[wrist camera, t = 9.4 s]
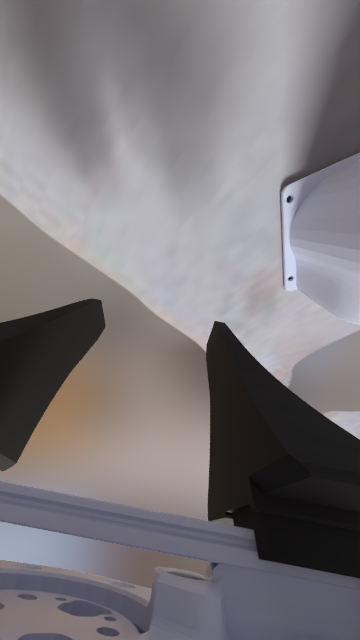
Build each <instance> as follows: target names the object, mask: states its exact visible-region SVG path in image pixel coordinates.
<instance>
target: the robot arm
mask: <svg viewBox="0 0 360 640" xmlns="http://www.w3.org/2000/svg"><path fill="white" fill-rule="evenodd" d="M288 196H291V201H290V202H289V203H287V201H286V200H287V197H288ZM281 210H282V240H283V270H284V289H285V290H286V291H288V292H289V291H294V290H298V291H300V292H301V293H303V294H304V295H306V296H307V297H308V298H310V299H311V300H313V301H314V302H316V303H317V304H318V305H320V306H321V307H323V308H324V309H326V310H327V311H328V312H330V313H331V314H333V315H334V316H336V317H338V318H340V319H342V320H344V321H347V322H350V323H353V324H357V325H360V152H359V153H357V154H355V155H353V156H351V157H348V158H346V159H344V160H342V161H339V162H337V163H335V164H333V165H331V166H328V167H326V168H324V169H322V170H319V171H317V172H315V173H313V174H311V175H308V176H306V177H304V178H302V179H300V180H297V181H295V182H293V183H291V184H288V185H287V186H285V187H284V188H283V190H282V192H281ZM290 276H292V278H291V279H290V280H288V278H289V277H290ZM104 328H105V320H104V314H103V309H102V302H101V300H97V299H87V300H83V301H79V302H76V303H72V304H69V305H66V306H63V307H60V308H56V309H53V310H49V311H46V312H43V313H39V314H35V315H32V316H28V317H24V318H20V319H16V320H11V321H6V322H2V323H0V470H1V471H4V470H7V469H9V468H10V467H12V466H13V465H14V464H16V463H17V461H18V459H19V457H20V455H21V453H22V451H23V450H24V448H25V446H26V444H27V442H28V440H29V438H30V437H31V435H32V433H33V431H34V429H35V427H36V426H37V424H38V422H39V421H40V419H41V417H42V416H43V414H44V412H45V411H46V409H47V407H48V406H49V404H50V402H51V401H52V399H53V398H54V396H55V394H56V393H57V391H58V390H59V388H60V387H61V385H62V384H63V382H64V381H65V379H66V378H67V377H68V375H69V373H70V372H71V371H72V369H73V368H74V367H75V366H76V365H77V364H78V363H79V361H80V360H81V359H82V358H83V357H84V355H85V354H86V353H87V352H88V350H89V349H90V348H91V347H92V346H93V344H94V343H95V342H96V341H97V340H98V338H99V337H100V335H101V333H102V332H103V329H104ZM206 360H207V371H208V381H209V389H210V466H209V467H210V468H209V490H208V491H209V492H208V521H205V520H200V519H195V518H189V517H184V516H179V515H174V514H168V513H163V512H158V511H152V510H147V509H142V508H137V507H132V506H127V505H121V504H116V503H111V502H106V501H100V500H95V499H90V498H85V497H79V496H74V495H69V494H63V493H58V492H53V491H47V490H43V489H38V488H32V487H27V486H22V485H16V484H11V483H6V482H1V481H0V521H2V522H7V523H12V524H18V525H22V526H28V527H33V528H38V529H43V530H48V531H53V532H59V533H64V534H69V535H74V536H79V537H85V538H90V539H95V540H100V541H106V542H111V543H116V544H121V545H126V546H131V547H136V548H142V549H147V550H153V551H158V552H163V553H168V554H173V555H178V556H184V557H188V558H194V559H199V560H204V561H209V562H211V563H210V564H209V566H208V567H207V571H206V574H205V575H204V576H203V575H200V574H198V573H195V572H191V571H187V570H181V569H174V568H166V567H158V566H157V567H156V569H155V570H154V576H153V584H152V589H149V588H145V587H142V586H138V585H134V584H130V583H126V582H122V581H118V580H115V579H110V578H107V577H102V576H97V575H93V574H88V573H83V572H79V571H73V570H67V569H61V568H54V567H48V566H41V565H34V564H26V563H19V562H11V561H4V560H0V640H360V440H359V439H358V438H356V437H355V436H353V435H352V434H350V433H349V432H347V431H346V430H344V429H343V428H341V427H340V426H338V425H337V424H335V423H334V422H332V421H331V420H329V419H328V418H326V417H325V416H324V415H322V414H321V413H320V412H318V411H317V410H315V409H314V408H312V407H311V406H310V405H308V404H307V403H306V402H305V401H303V400H302V399H301V398H299V397H298V396H297V395H295V394H294V393H293V392H292V391H290V390H289V389H288V388H287V387H286V386H284V385H283V384H282V383H281V382H280V381H278V380H277V379H276V378H275V377H274V376H273V375H272V374H271V373H269V372H268V371H267V370H266V369H265V368H264V367H263V366H262V365H261V364H260V363H259V362H258V361H257V360H256V359H255V358H254V357H253V356H252V355H251V354H250V353H249V352H248V350H247V349H246V348H245V347H244V346H243V345H242V344H241V342H240V341H239V340H238V339H237V338H236V336H235V335H234V334H233V333H232V331H231V330H230V329H229V328H228V326H227V325H226V324H225V323H223V322H217V321H215V322H214V325H213V328H212V331H211V334H210V337H209V340H208V343H207V350H206Z"/></svg>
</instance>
